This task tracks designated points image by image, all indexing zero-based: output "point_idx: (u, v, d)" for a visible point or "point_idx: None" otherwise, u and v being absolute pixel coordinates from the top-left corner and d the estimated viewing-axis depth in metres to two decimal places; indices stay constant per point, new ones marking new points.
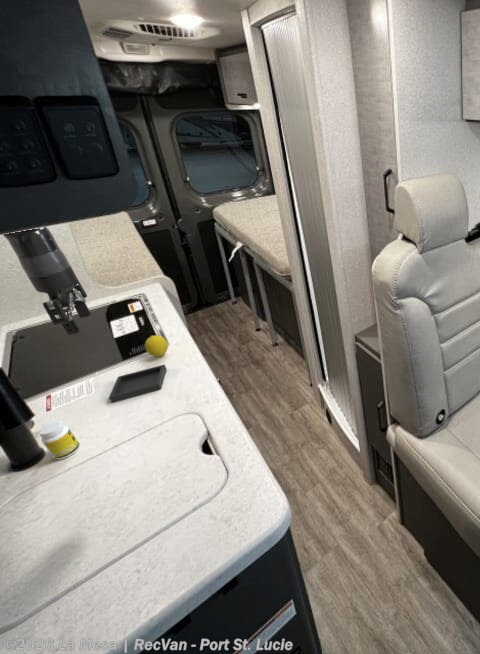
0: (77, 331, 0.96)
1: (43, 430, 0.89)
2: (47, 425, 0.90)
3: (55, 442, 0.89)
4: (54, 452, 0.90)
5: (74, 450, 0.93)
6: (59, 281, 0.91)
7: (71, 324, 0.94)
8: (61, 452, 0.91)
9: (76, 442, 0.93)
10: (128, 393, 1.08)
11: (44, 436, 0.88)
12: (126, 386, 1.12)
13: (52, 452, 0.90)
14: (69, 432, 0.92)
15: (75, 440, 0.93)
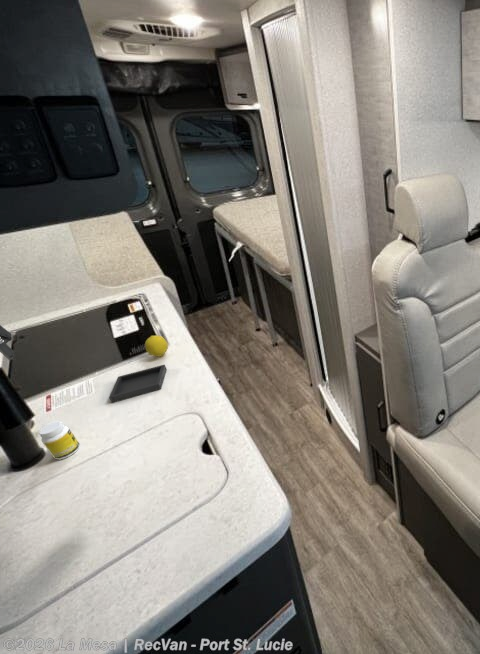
0: None
1: (43, 430, 0.89)
2: (47, 425, 0.90)
3: (55, 442, 0.89)
4: (54, 452, 0.90)
5: (74, 450, 0.93)
6: None
7: None
8: (61, 452, 0.91)
9: (76, 442, 0.93)
10: (128, 393, 1.08)
11: (44, 436, 0.88)
12: (126, 386, 1.12)
13: (52, 452, 0.90)
14: (69, 432, 0.92)
15: (75, 440, 0.93)
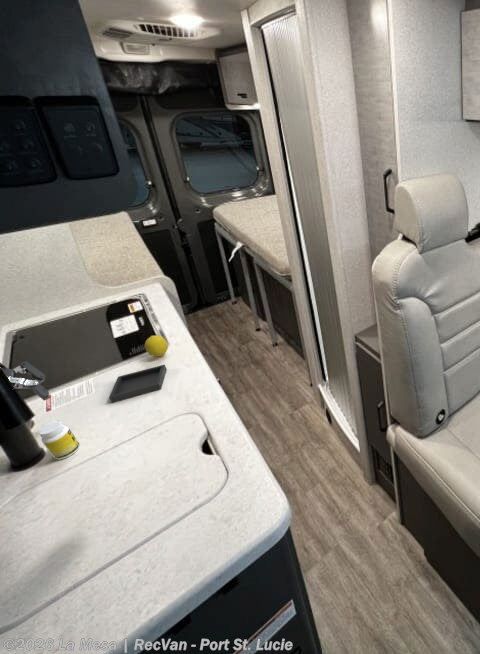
0: None
1: (43, 430, 0.89)
2: (47, 425, 0.90)
3: (55, 442, 0.89)
4: (54, 452, 0.90)
5: (74, 450, 0.93)
6: None
7: None
8: (61, 452, 0.91)
9: (76, 442, 0.93)
10: (128, 393, 1.08)
11: (44, 436, 0.88)
12: (126, 386, 1.12)
13: (52, 452, 0.90)
14: (69, 432, 0.92)
15: (75, 440, 0.93)
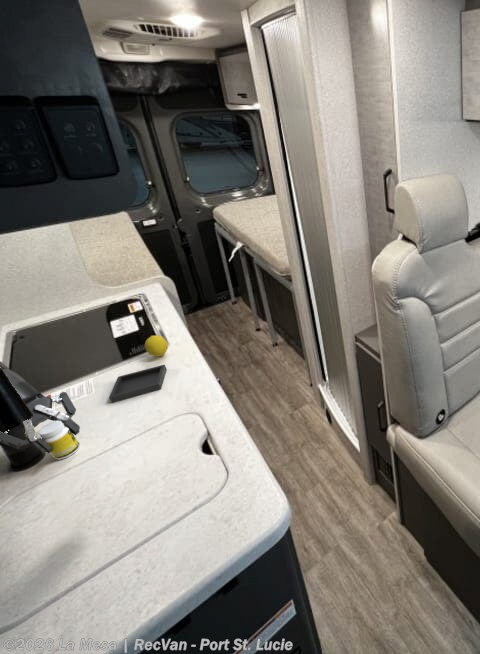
0: None
1: (43, 430, 0.89)
2: (47, 425, 0.90)
3: (55, 442, 0.89)
4: (54, 453, 0.90)
5: (74, 450, 0.93)
6: None
7: None
8: (61, 452, 0.91)
9: (76, 442, 0.93)
10: (128, 393, 1.08)
11: (44, 436, 0.88)
12: (126, 386, 1.12)
13: (52, 452, 0.90)
14: (69, 432, 0.92)
15: (75, 440, 0.93)
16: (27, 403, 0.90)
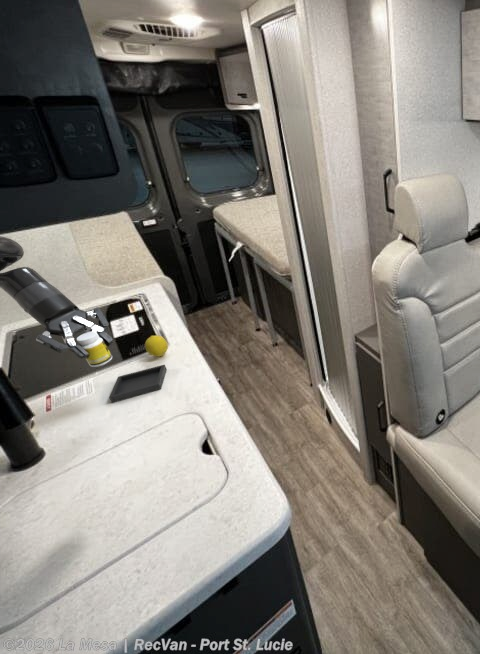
0: None
1: (80, 338, 0.97)
2: (83, 334, 0.98)
3: (91, 349, 0.97)
4: (90, 359, 0.98)
5: (107, 359, 1.01)
6: None
7: None
8: (96, 360, 0.99)
9: (109, 353, 1.02)
10: (128, 393, 1.08)
11: (82, 342, 0.96)
12: (126, 386, 1.12)
13: (88, 359, 0.98)
14: (103, 342, 1.00)
15: (108, 351, 1.02)
16: (66, 313, 0.98)
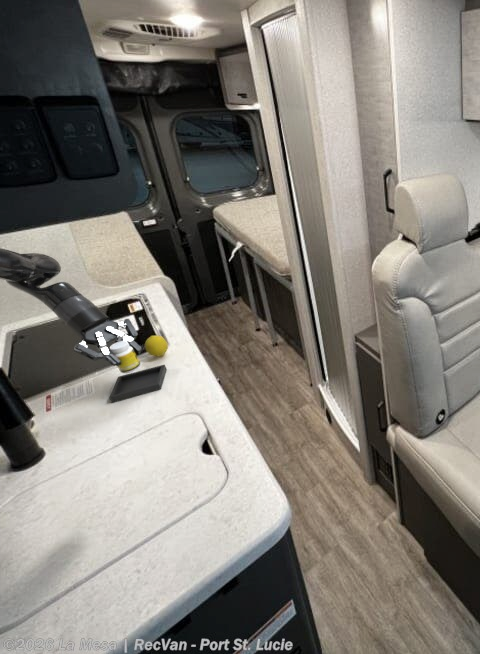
0: None
1: (113, 347, 1.06)
2: (115, 343, 1.07)
3: (123, 357, 1.06)
4: (121, 366, 1.07)
5: (137, 366, 1.10)
6: None
7: None
8: (127, 367, 1.08)
9: (138, 360, 1.10)
10: (128, 393, 1.08)
11: (115, 351, 1.05)
12: (126, 386, 1.12)
13: (120, 366, 1.07)
14: (133, 351, 1.09)
15: (137, 358, 1.10)
16: (99, 324, 1.06)
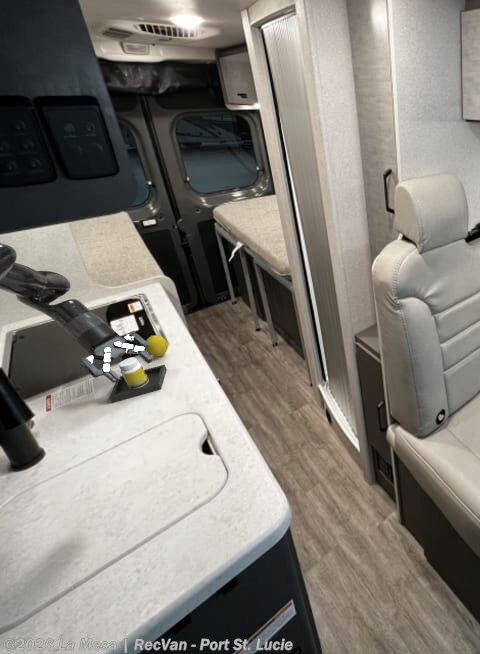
0: None
1: (122, 364, 1.08)
2: (125, 360, 1.10)
3: (132, 373, 1.09)
4: (130, 383, 1.10)
5: (145, 382, 1.12)
6: None
7: None
8: (135, 383, 1.10)
9: (146, 376, 1.13)
10: (128, 393, 1.08)
11: (124, 368, 1.08)
12: (126, 386, 1.12)
13: (129, 382, 1.10)
14: (141, 367, 1.12)
15: None
16: (108, 340, 1.09)
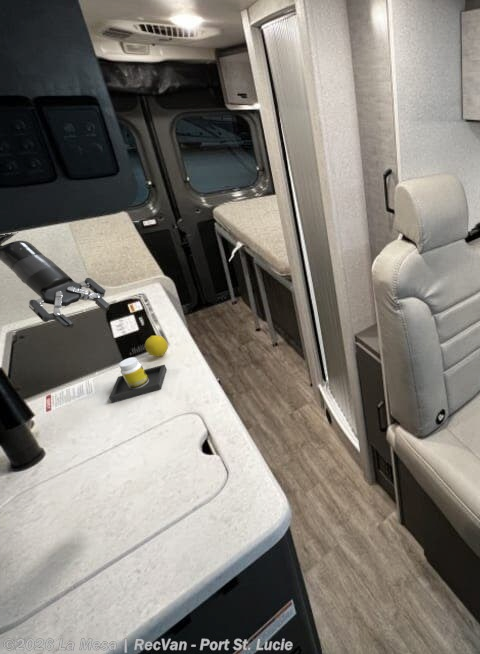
0: None
1: (122, 364, 1.08)
2: (125, 360, 1.10)
3: (132, 373, 1.09)
4: (130, 383, 1.10)
5: (145, 382, 1.12)
6: None
7: None
8: (135, 383, 1.10)
9: (146, 376, 1.13)
10: (128, 393, 1.08)
11: (124, 368, 1.08)
12: (126, 386, 1.12)
13: (129, 382, 1.10)
14: (141, 367, 1.12)
15: (145, 374, 1.13)
16: (61, 284, 1.04)
